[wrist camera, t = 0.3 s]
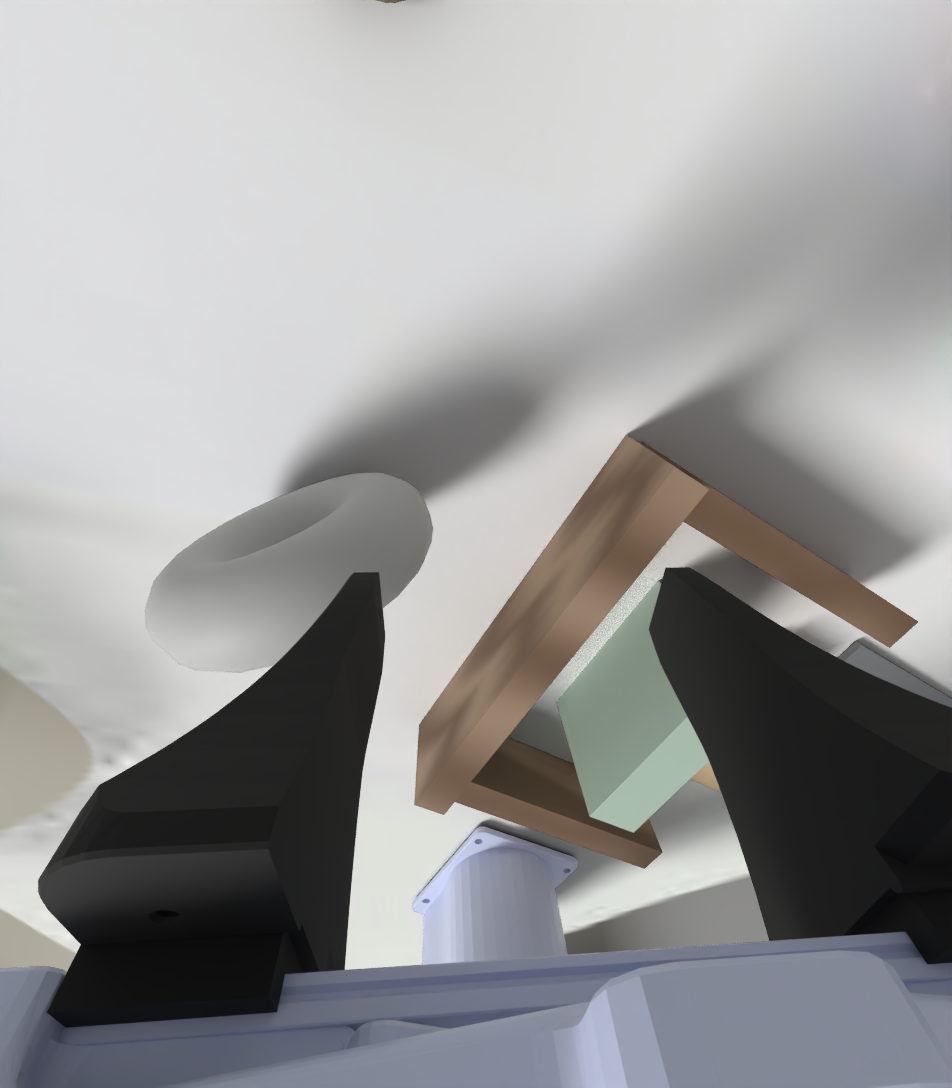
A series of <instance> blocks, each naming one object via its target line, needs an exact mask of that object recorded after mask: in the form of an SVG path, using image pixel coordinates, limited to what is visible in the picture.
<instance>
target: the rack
mask: <svg viewBox="0 0 952 1088" xmlns="http://www.w3.org/2000/svg"><path fill="white" fill-rule="evenodd" d="M682 522H685V523H687V524H688V525H690V526H691V527H693V528H695V529H696V530H698V531H700V532H701V533H703V534H705V535H706V536H708V537H709V538H711V539H713V540H714V541H716V542H718V543H719V544H721V545H723V546H724V547H726V548H727V549H729V550H731V551H732V552H734V553H736V554H737V555H739V556H740V557H742V558H744V559H745V560H747V561H749V562H750V563H752V564H754V565H755V566H757V567H758V568H760V569H762V570H763V571H765V572H767V573H768V574H770V575H772V576H773V577H775V578H776V579H778V580H780V581H781V582H783V583H785V584H786V585H788V586H789V587H791V588H793V589H794V590H796V591H798V592H799V593H801V594H803V595H804V596H806V597H807V598H809V599H811V600H812V601H814V602H816V603H817V604H819V605H820V606H822V607H824V608H825V609H827V610H829V611H830V612H832V613H834V614H835V615H837V616H838V617H840V618H842V619H843V620H845V621H847V622H848V623H850V624H852V625H853V626H855V627H856V628H858V629H860V630H861V631H863V632H865V633H866V634H868V635H869V636H871V637H873V638H874V639H876V640H878V641H879V642H881V643H883V644H884V645H886V646H887V647H889V648H890V647H891V646H892V645H893V644H894V643H896V642H897V641H898V640H899V639H900V638H901V637H902V636H903V635H904V634H906V633H907V632H908V631H909V630H910V629H911V628H912V627H913V626H914V625H916V624H917V623H918V621H917V620H915V619H914V618H912V617H910V616H909V615H907V614H906V613H904V612H903V611H901V610H900V609H898V608H897V607H895V606H894V605H892V604H891V603H889V602H887V601H886V600H884V599H883V598H881V597H880V596H878V595H877V594H875V593H874V592H872V591H871V590H869V589H868V588H866V587H864V586H863V585H861V584H860V583H858V582H857V581H855V580H854V579H852V578H851V577H849V576H848V575H846V574H845V573H843V572H841V571H840V570H838V569H837V568H835V567H834V566H832V565H831V564H829V563H828V562H826V561H825V560H823V559H821V558H820V557H818V556H817V555H815V554H814V553H812V552H811V551H809V550H808V549H806V548H805V547H803V546H801V545H800V544H798V543H797V542H795V541H794V540H792V539H791V538H789V537H788V536H786V535H785V534H783V533H782V532H780V531H778V530H777V529H775V528H774V527H772V526H771V525H769V524H768V523H766V522H765V521H763V520H762V519H760V518H758V517H757V516H755V515H754V514H752V513H751V512H749V511H748V510H746V509H745V508H743V507H742V506H740V505H738V504H737V503H735V502H734V501H732V500H731V499H729V498H728V497H726V496H725V495H723V494H722V493H720V492H718V491H717V490H715V489H714V488H712V487H711V486H709V485H708V484H706V483H705V482H703V481H702V480H700V479H699V478H697V477H695V476H694V475H692V474H691V473H689V472H688V471H686V470H685V469H683V468H682V467H680V466H679V465H677V464H675V463H674V462H672V461H671V460H669V459H668V458H666V457H665V456H663V455H662V454H660V453H659V452H657V451H655V450H654V449H652V448H651V447H649V446H648V445H646V444H645V443H643V442H641V444H640V443H639V442H637V441H636V440H634V439H633V438H631V437H629V436H628V435H626V436H625V437H624V439H623V440H622V442H621V443H620V444H619V446H618V447H617V449H616V450H615V451H614V453H613V454H612V456H611V457H610V458H609V460H608V461H607V463H606V464H605V465H604V467H603V468H602V470H601V471H600V472H599V474H598V475H597V477H596V478H595V479H594V481H593V482H592V484H591V485H590V486H589V488H588V489H587V491H586V492H585V493H584V495H583V496H582V498H581V499H580V500H579V502H578V503H577V505H576V506H575V507H574V509H573V510H572V512H571V513H570V514H569V516H568V517H567V519H566V520H565V521H564V523H563V524H562V526H561V527H560V528H559V530H558V531H557V533H556V534H555V535H554V537H553V538H552V540H551V541H550V542H549V544H548V545H547V547H546V548H545V549H544V551H543V552H542V554H541V555H540V556H539V558H538V559H537V561H536V562H535V563H534V565H533V566H532V568H531V569H530V570H529V572H528V573H527V575H526V576H525V577H524V579H523V580H522V582H521V583H520V584H519V586H518V587H517V589H516V590H515V591H514V593H513V594H512V596H511V597H510V598H509V600H508V601H507V603H506V604H505V605H504V607H503V608H502V610H501V611H500V612H499V614H498V615H497V617H496V618H495V619H494V621H493V622H492V624H491V625H490V626H489V628H488V629H487V631H486V632H485V633H484V635H483V636H482V638H481V639H480V640H479V642H478V643H477V645H476V646H475V647H474V649H473V650H472V652H471V653H470V654H469V656H468V657H467V659H466V660H465V661H464V663H463V664H462V666H461V667H460V668H459V670H458V671H457V673H456V674H455V675H454V677H453V678H452V680H451V681H450V682H449V684H448V685H447V687H446V688H445V689H444V691H443V692H442V694H441V695H440V696H439V698H438V699H437V701H436V702H435V703H434V705H433V706H432V708H431V709H430V710H429V712H428V713H427V715H426V716H425V717H424V719H423V720H422V722H421V723H420V724H419V736H418V753H417V770H416V787H415V804H414V805H416V806H419V807H422V808H425V809H428V810H431V811H434V812H437V813H440V814H443V815H444V814H445V813H446V812H447V811H448V809H449V808H450V807H451V806H452V804H453V803H454V802H457V803H459V804H462V805H465V806H468V807H471V808H474V809H477V810H479V811H482V812H485V813H488V814H491V815H494V816H496V817H499V818H502V819H505V820H508V821H511V822H513V823H516V824H519V825H522V826H525V827H528V828H531V829H533V830H536V831H539V832H542V833H545V834H548V835H550V836H553V837H556V838H559V839H562V840H565V841H568V842H570V843H573V844H576V845H579V846H582V847H585V848H587V849H590V850H593V851H596V852H599V853H602V854H604V855H607V856H610V857H613V858H616V859H619V860H622V861H624V862H627V863H630V864H633V865H636V866H639V867H641V868H644V869H645V868H646V867H647V866H648V865H649V864H650V863H651V862H652V861H653V860H655V859H656V858H657V857H658V856H659V855H660V854H661V853H662V850H661V848H660V845H659V843H658V840H657V838H656V835H655V833H654V830H653V828H652V825H651V823H650V820H649V818H648V819H647V820H646V821H645V822H644V823H643V824H642V825H641V826H640V827H639V828H638V829H637V830H636V831H635V832H634V833H633V832H630V831H627V830H625V829H622V828H619V827H617V826H614V825H611V824H609V823H606V822H603V821H600V820H598V819H595V818H592V817H590V816H589V813H588V810H587V806H586V803H585V799H584V796H583V792H582V789H581V786H580V782H579V779H578V775H577V772H576V768H575V765H574V764H572V763H569V762H567V761H564V760H562V759H559V758H557V757H554V756H552V755H549V754H547V753H545V752H542V751H540V750H537V749H535V748H532V747H530V746H527V745H525V744H522V743H520V742H517V741H515V740H512V739H510V738H507V737H508V736H509V734H510V733H511V732H512V731H513V730H514V728H515V727H516V726H517V725H518V723H519V722H520V721H521V720H522V719H523V717H524V716H525V715H526V714H527V712H528V711H529V710H530V709H531V707H532V706H533V705H534V704H535V703H536V701H537V700H538V699H539V698H540V696H541V695H542V694H543V693H544V692H545V690H546V689H547V688H548V687H549V685H550V684H551V683H552V682H553V680H554V679H555V678H556V677H557V676H558V674H559V673H560V672H561V671H562V669H563V668H564V667H565V666H566V665H567V663H568V662H569V661H570V660H571V658H572V657H573V656H574V655H575V653H576V652H577V651H578V650H579V649H580V647H581V646H582V645H583V644H584V642H585V641H586V640H587V639H588V638H589V636H590V635H591V634H592V633H593V631H594V630H595V629H596V628H597V626H598V625H599V624H600V623H601V622H602V620H603V619H604V618H605V617H606V615H607V614H608V613H609V612H610V611H611V609H612V608H613V607H614V606H615V604H616V603H617V602H618V601H619V599H620V598H621V597H622V596H623V595H624V593H625V592H626V591H627V590H628V588H629V587H630V586H631V585H632V584H633V582H634V581H635V580H636V579H637V577H638V576H639V575H640V574H641V572H642V571H643V570H644V569H645V568H646V566H647V565H648V564H649V563H650V561H651V560H652V559H653V558H654V557H655V555H656V554H657V553H658V552H659V550H660V549H661V548H662V547H663V545H664V544H665V543H666V542H667V541H668V539H669V538H670V537H671V536H672V534H673V533H674V532H675V531H676V530H677V528H678V527H679V526H680V525H681V523H682Z"/></svg>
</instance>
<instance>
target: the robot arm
mask: <svg viewBox="0 0 952 1088" xmlns="http://www.w3.org/2000/svg"><path fill="white" fill-rule="evenodd" d="M649 632H650V635H651V638H652V641H653V644H654V647H655V650H656V653H657V656H658V659H659V661H660V664H661V666H662V668H663V670H664V672H665V674H666V676H667V678H668V680H669V682H670V684H671V686H672V688H673V690H674V692H675V694H676V696H677V698H678V700H679V702H680V703H681V705H682V707H683V709H684V711H685V713H686V715H687V717H688V719H689V721H690V723H691V725H692V727H693V729H694V730H695V732H696V734H697V736H698V738H699V740H700V742H701V744H702V746H703V749H704V751H705V753H706V755H707V757H708V759H709V762H710V765H711V767H712V770H713V772H714V775H715V777H716V780H717V782H718V785H719V787H720V790H721V793H722V795H723V798H724V801H725V803H726V806H727V809H728V812H729V814H730V817H731V820H732V823H733V826H734V828H735V831H736V834H737V837H738V840H739V843H740V846H741V849H742V852H743V855H744V858H745V861H746V864H747V867H748V870H749V873H750V876H751V880H752V883H753V886H754V889H755V892H756V895H757V899H758V903H759V906H760V910H761V913H762V917H763V920H764V923H765V927H766V930H767V934H768V937H769V941H762V942H748V943H733V944H719V945H704V946H691V947H690V946H689V947H676V948H661V949H647V950H632V951H617V952H602V953H587V954H574V955H573V954H572V955H568V954H567V950H566V944H565V939H564V934H563V928H562V923H561V918H560V913H559V908H558V902H557V897H556V892H555V889H556V888H557V887H558V886H559V885H560V884H561V883H562V882H563V881H564V880H565V879H566V878H567V877H568V876H569V875H570V874H571V873H572V872H573V871H574V870H575V869H576V868H577V867H578V862H577V859H576V858H574V857H572V856H569V855H566V854H563V853H560V852H557V851H555V850H552V849H549V848H546V847H543V846H540V845H537V844H534V843H531V842H528V841H525V840H522V839H520V838H517V837H514V836H511V835H508V834H505V833H502V832H499V831H496V830H493V829H490V828H487V827H478V828H477V829H476V830H475V831H474V832H473V833H472V834H471V835H470V837H469V838H468V839H467V840H466V841H465V842H464V843H463V845H462V846H461V847H460V848H459V849H458V850H457V852H456V853H455V854H454V855H453V856H452V857H451V859H450V860H449V861H448V862H447V863H446V864H445V865H444V867H443V868H442V869H441V870H440V871H439V872H438V874H437V875H436V876H435V877H434V878H433V879H432V880H431V882H430V883H429V884H428V885H427V886H426V887H425V889H424V890H423V891H422V892H421V893H420V894H419V895H418V897H417V898H416V899H415V900H414V901H413V903H412V910H413V911H414V912H417V913H420V914H424V917H423V947H422V965H412V966H397V967H383V968H368V969H353V970H345V956H346V943H347V930H348V917H349V904H350V893H351V881H352V870H353V858H354V848H355V838H356V827H357V817H358V807H359V798H360V788H361V779H362V771H363V765H364V759H365V753H366V748H367V743H368V738H369V733H370V729H371V724H372V719H373V714H374V709H375V705H376V700H377V695H378V690H379V685H380V680H381V675H382V667H383V656H384V643H385V629H384V618H383V608H382V597H381V586H380V576H379V572H354V573H353V574H352V575H351V576H350V577H349V578H348V580H347V581H346V582H345V584H344V585H343V587H342V588H341V589H340V591H339V592H338V593H337V595H336V596H335V597H334V599H333V600H332V601H331V603H330V604H329V605H328V606H327V608H326V609H325V610H324V611H323V613H322V614H321V615H320V616H319V617H318V619H317V620H316V621H315V622H314V623H313V625H312V626H311V627H310V628H309V629H308V630H307V632H306V633H305V634H304V635H303V636H302V637H301V638H300V639H299V640H298V641H297V642H296V643H295V644H294V645H293V647H292V648H291V649H290V650H289V651H288V652H287V653H286V654H285V655H284V656H283V657H282V658H281V659H280V660H279V661H278V662H277V663H276V664H275V665H274V666H273V667H272V668H270V669H269V670H268V671H267V672H266V673H265V674H264V675H263V676H262V677H261V678H259V679H258V680H257V681H256V682H255V683H254V684H253V685H251V686H250V687H249V688H248V689H246V690H245V691H244V692H243V693H241V694H240V695H239V696H238V697H236V698H235V699H234V700H232V701H231V702H230V703H229V704H227V705H226V706H225V707H223V708H222V709H221V710H220V711H218V712H217V713H216V714H214V715H213V716H211V717H210V718H209V719H207V720H206V721H204V722H203V723H201V724H200V725H198V726H197V727H196V728H194V729H193V730H191V731H190V732H188V733H186V734H185V735H183V736H182V737H180V738H179V739H177V740H176V741H174V742H173V743H171V744H170V745H168V746H166V747H165V748H163V749H161V750H160V751H158V752H157V753H155V754H153V755H151V756H150V757H148V758H146V759H144V760H143V761H141V762H139V763H138V764H136V765H134V766H132V767H131V768H129V769H127V770H125V771H124V772H122V773H120V774H118V775H117V776H115V777H113V778H111V779H110V780H108V781H106V782H104V783H102V784H100V785H99V786H98V787H97V789H96V790H95V792H94V793H93V795H92V796H91V797H90V799H89V800H88V801H87V803H86V804H85V806H84V807H83V808H82V810H81V811H80V813H79V815H78V816H77V818H76V819H75V821H74V823H73V824H72V826H71V828H70V829H69V831H68V832H67V834H66V836H65V837H64V839H63V841H62V842H61V844H60V845H59V847H58V849H57V850H56V852H55V854H54V855H53V857H52V858H51V860H50V862H49V863H48V865H47V867H46V868H45V870H44V871H43V873H42V875H41V876H40V878H39V880H38V892H39V895H40V898H41V899H42V901H43V903H44V904H45V906H46V907H47V909H48V910H49V911H50V912H51V913H52V914H53V915H54V916H55V918H56V919H57V920H58V921H59V922H60V923H61V924H62V925H63V926H64V927H65V928H66V929H67V930H68V931H69V932H70V933H71V934H72V935H73V936H74V938H75V939H76V940H77V941H78V942H79V943H80V944H81V946H80V948H79V950H78V952H77V954H76V956H75V958H74V960H73V962H72V964H71V966H70V968H69V969H68V972H66V971H64V970H63V969H59V968H54V967H48V966H31V967H16V968H1V969H0V1088H952V708H951V707H949V706H946V705H943V704H940V703H938V702H935V701H933V700H930V699H928V698H925V697H923V696H920V695H918V694H915V693H913V692H910V691H908V690H906V689H903V688H901V687H899V686H897V685H894V684H892V683H890V682H887V681H885V680H883V679H881V678H878V677H876V676H874V675H872V674H870V673H867V672H865V671H863V670H861V669H859V668H857V667H855V666H853V665H851V664H849V663H847V662H845V661H843V660H841V659H839V658H837V657H835V656H833V655H831V654H829V653H827V652H825V651H823V650H822V649H820V648H818V647H816V646H814V645H812V644H811V643H809V642H807V641H805V640H804V639H802V638H800V637H799V636H797V635H795V634H793V633H792V632H790V631H788V630H787V629H785V628H783V627H782V626H780V625H778V624H777V623H775V622H774V621H772V620H770V619H769V618H767V617H766V616H764V615H762V614H761V613H759V612H758V611H756V610H755V609H753V608H752V607H750V606H749V605H747V604H745V603H744V602H742V601H741V600H739V599H738V598H736V597H735V596H733V595H732V594H730V593H729V592H727V591H726V590H724V589H723V588H721V587H720V586H718V585H717V584H715V583H714V582H712V581H711V580H709V579H708V578H706V577H704V576H703V575H701V574H700V573H698V572H696V571H694V570H693V569H691V568H666V569H665V572H664V576H663V579H662V583H661V586H660V590H659V594H658V597H657V601H656V604H655V608H654V612H653V615H652V619H651V622H650V626H649Z"/></svg>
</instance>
